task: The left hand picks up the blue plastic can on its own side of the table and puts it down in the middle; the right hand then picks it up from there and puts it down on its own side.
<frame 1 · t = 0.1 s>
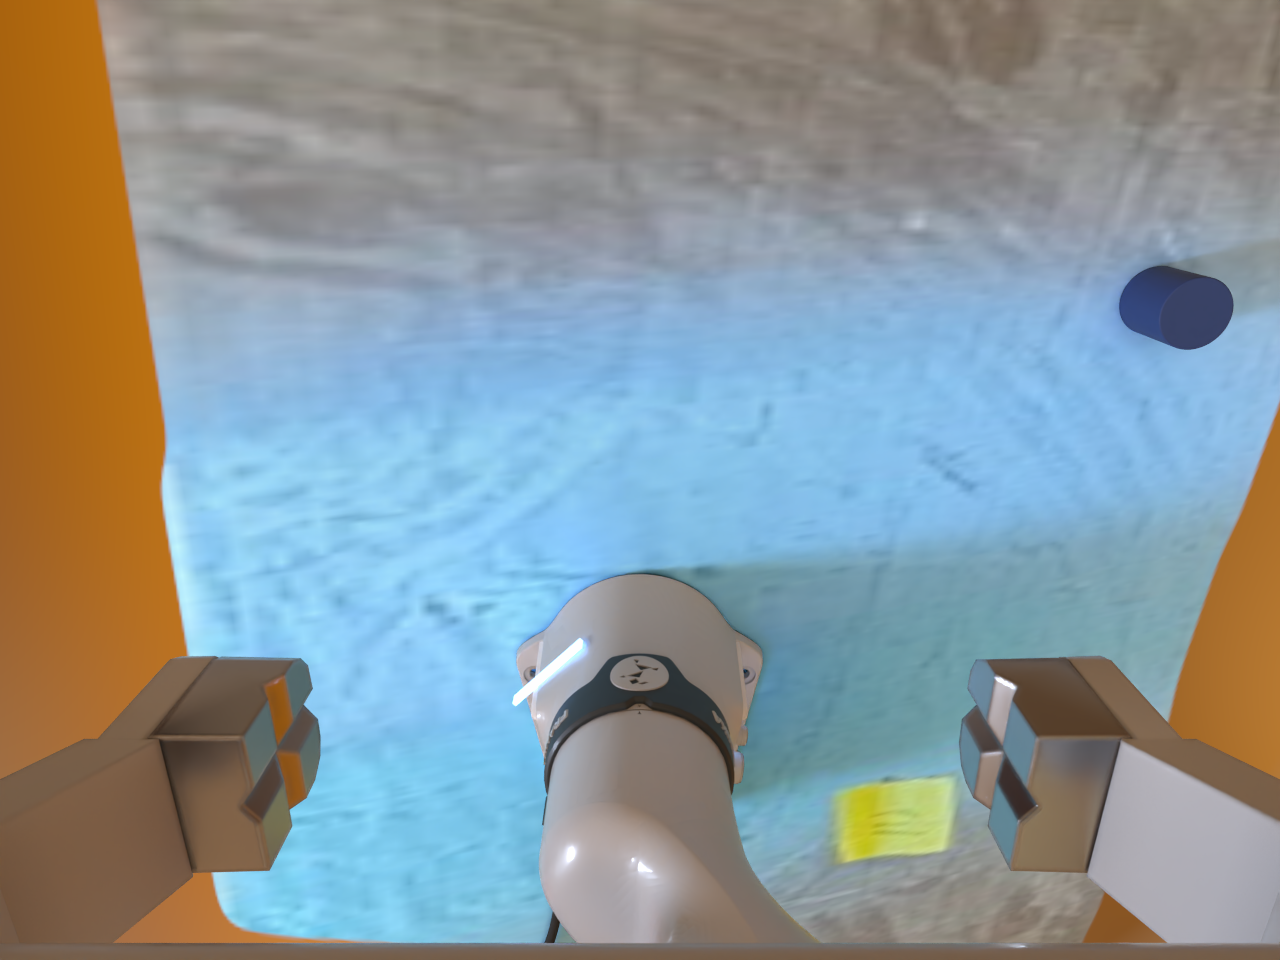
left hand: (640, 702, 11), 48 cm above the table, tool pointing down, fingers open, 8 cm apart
can: (1153, 300, 56), on the table
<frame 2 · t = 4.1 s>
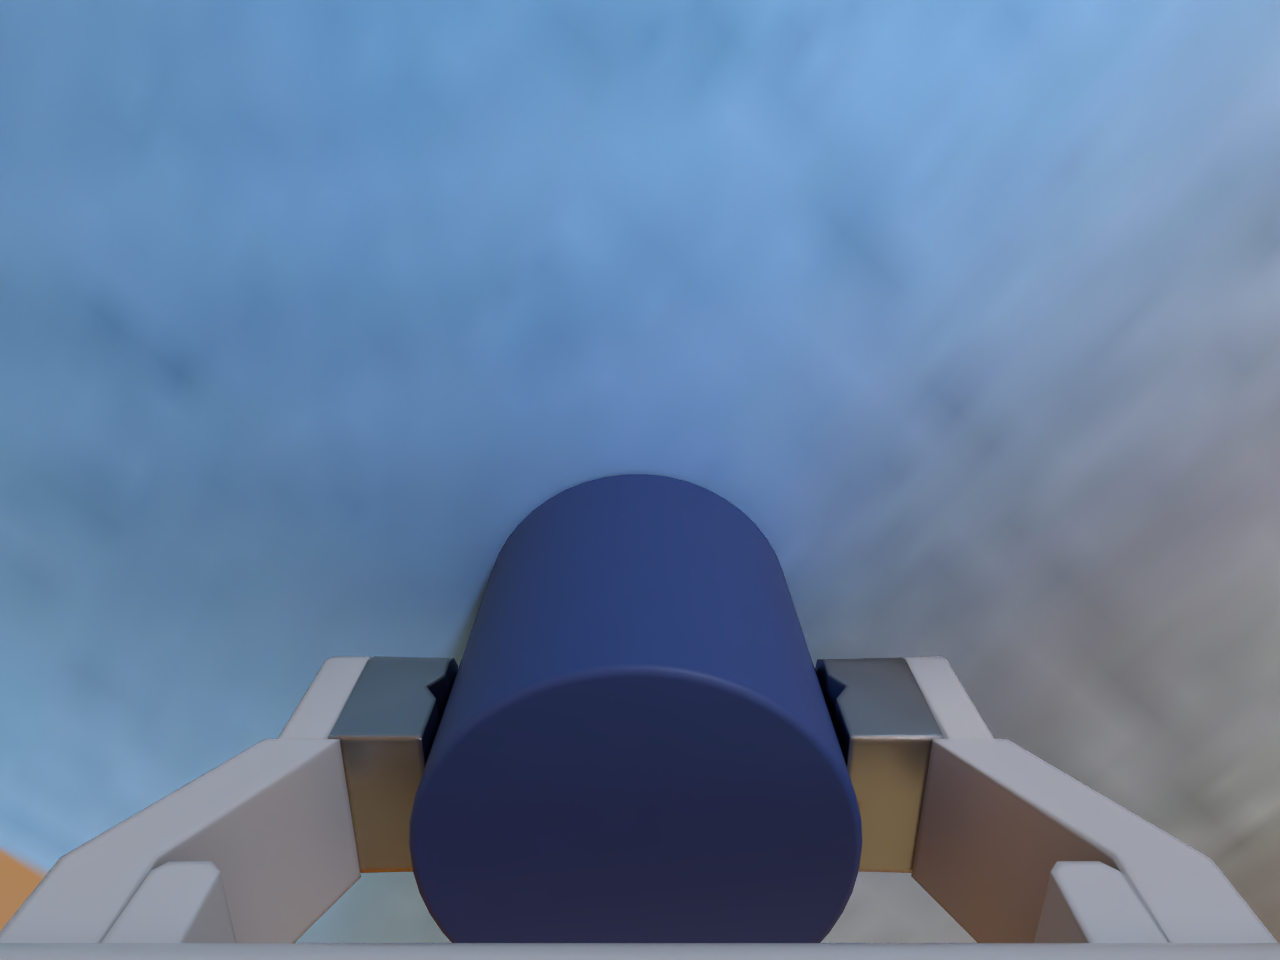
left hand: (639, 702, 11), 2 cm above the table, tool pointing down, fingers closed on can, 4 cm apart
can: (637, 611, 13), on the table, touching left hand
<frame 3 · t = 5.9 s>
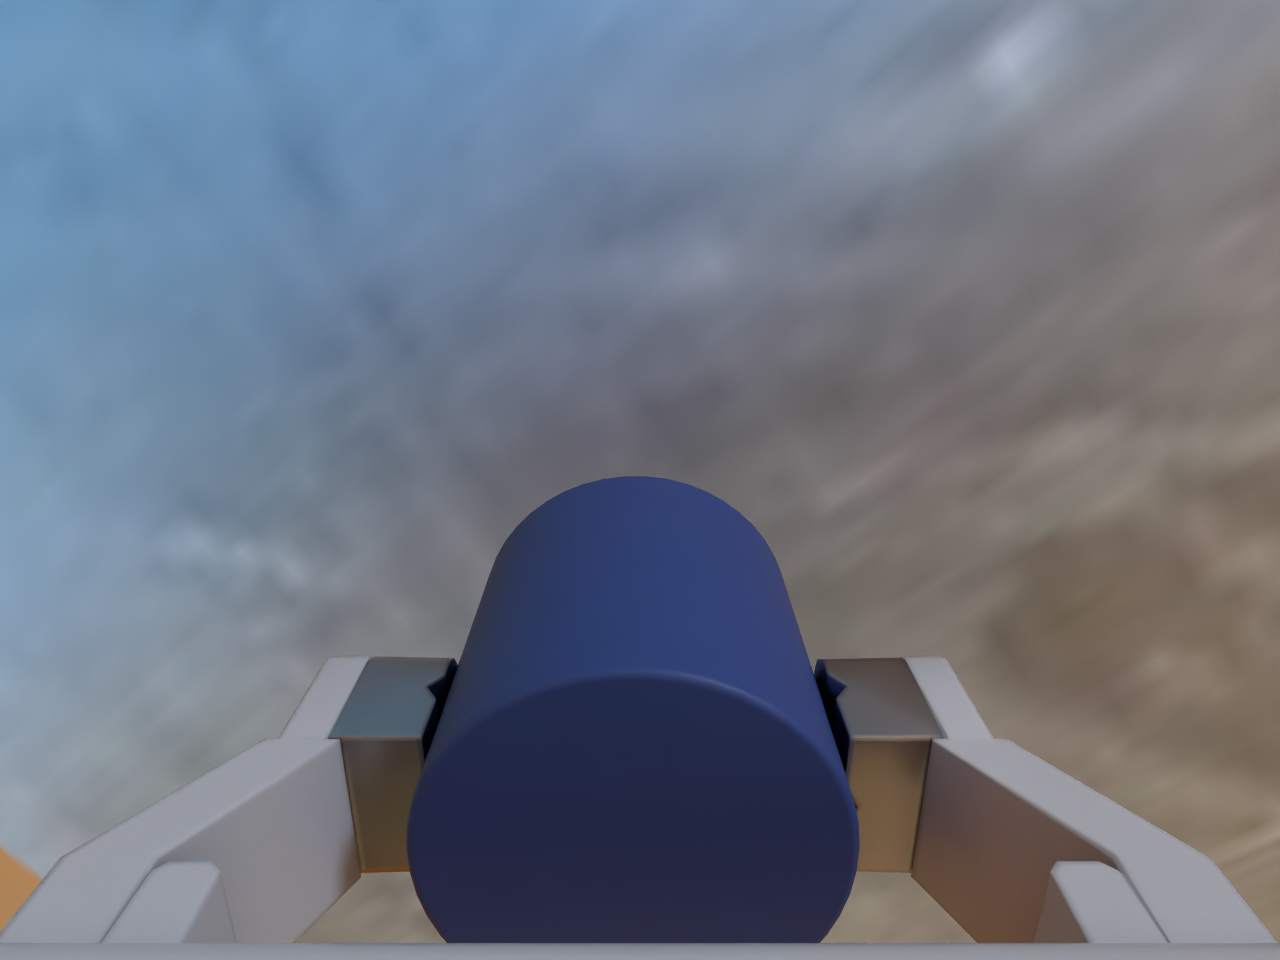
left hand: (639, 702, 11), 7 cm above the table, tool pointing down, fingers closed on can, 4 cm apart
can: (635, 612, 13), point 4 cm above the table, touching left hand
when the left hand's fingers open (3 cm above the table, at t = 7.9 s): can stays where it is, on the table.
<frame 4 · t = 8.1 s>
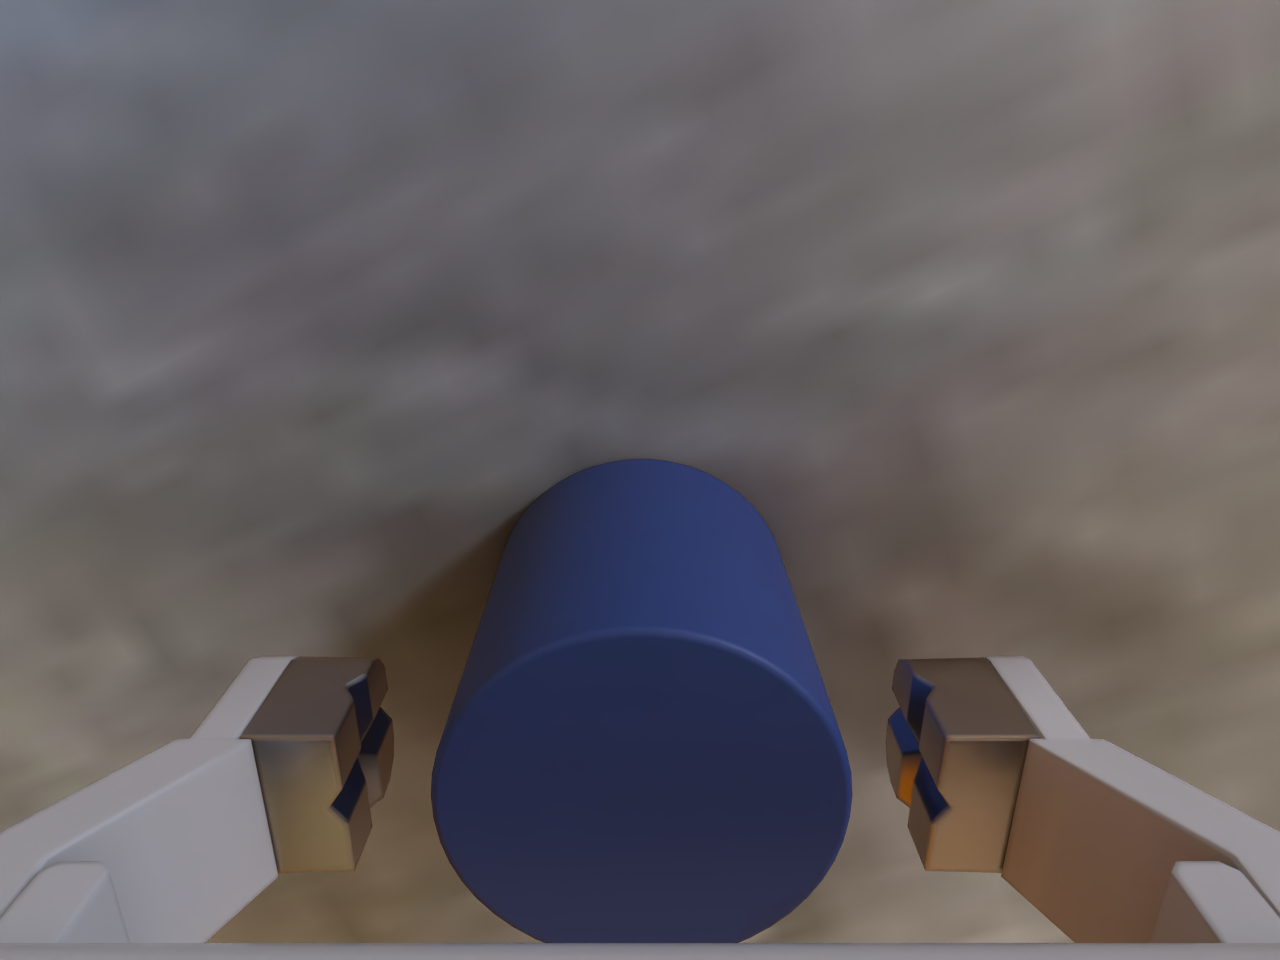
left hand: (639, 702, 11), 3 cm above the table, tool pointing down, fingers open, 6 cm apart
can: (641, 590, 13), on the table
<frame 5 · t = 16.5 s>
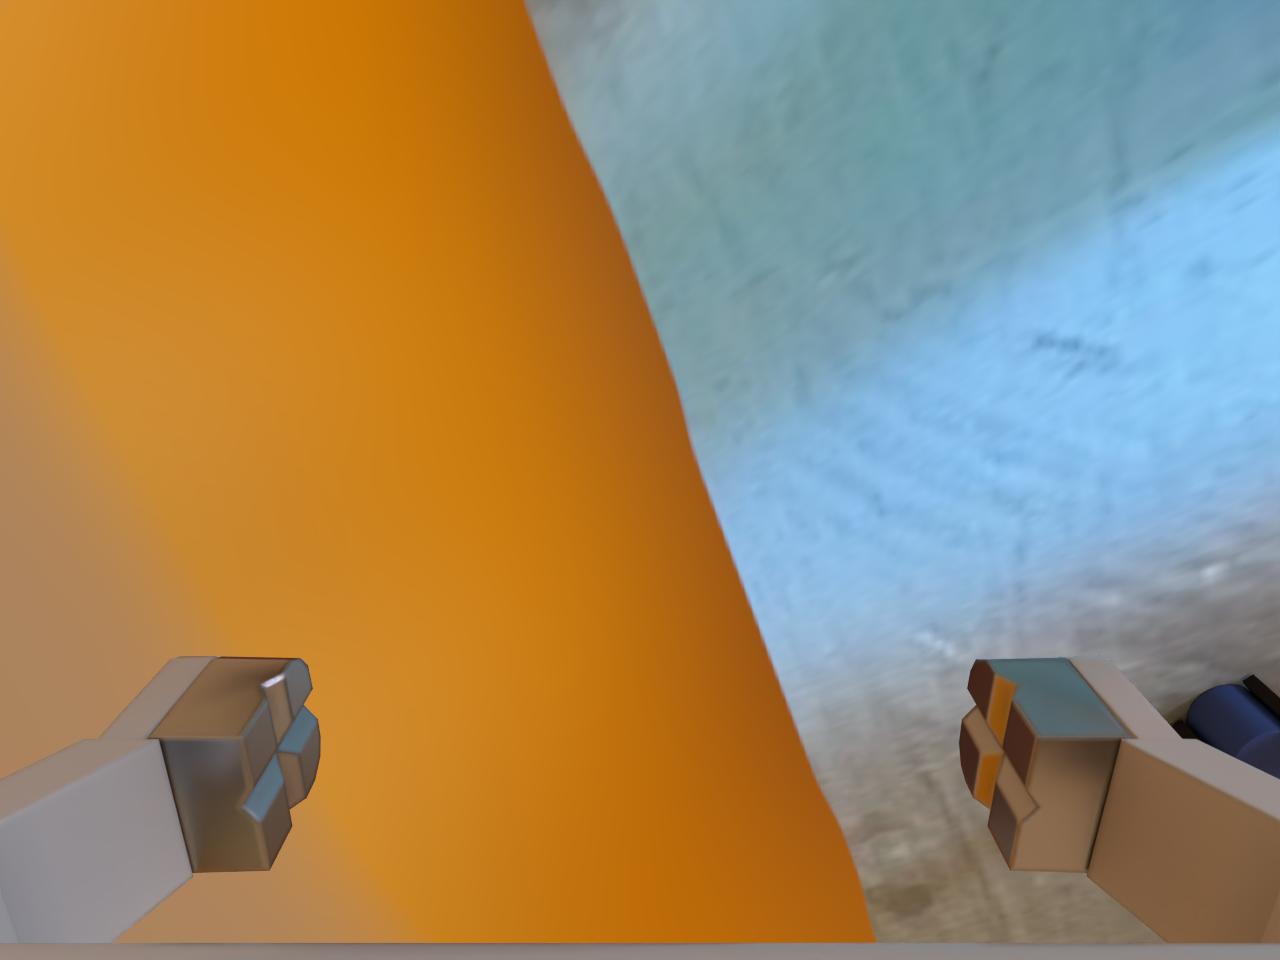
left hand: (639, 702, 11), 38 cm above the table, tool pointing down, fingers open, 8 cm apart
can: (1221, 712, 56), on the table, touching right hand
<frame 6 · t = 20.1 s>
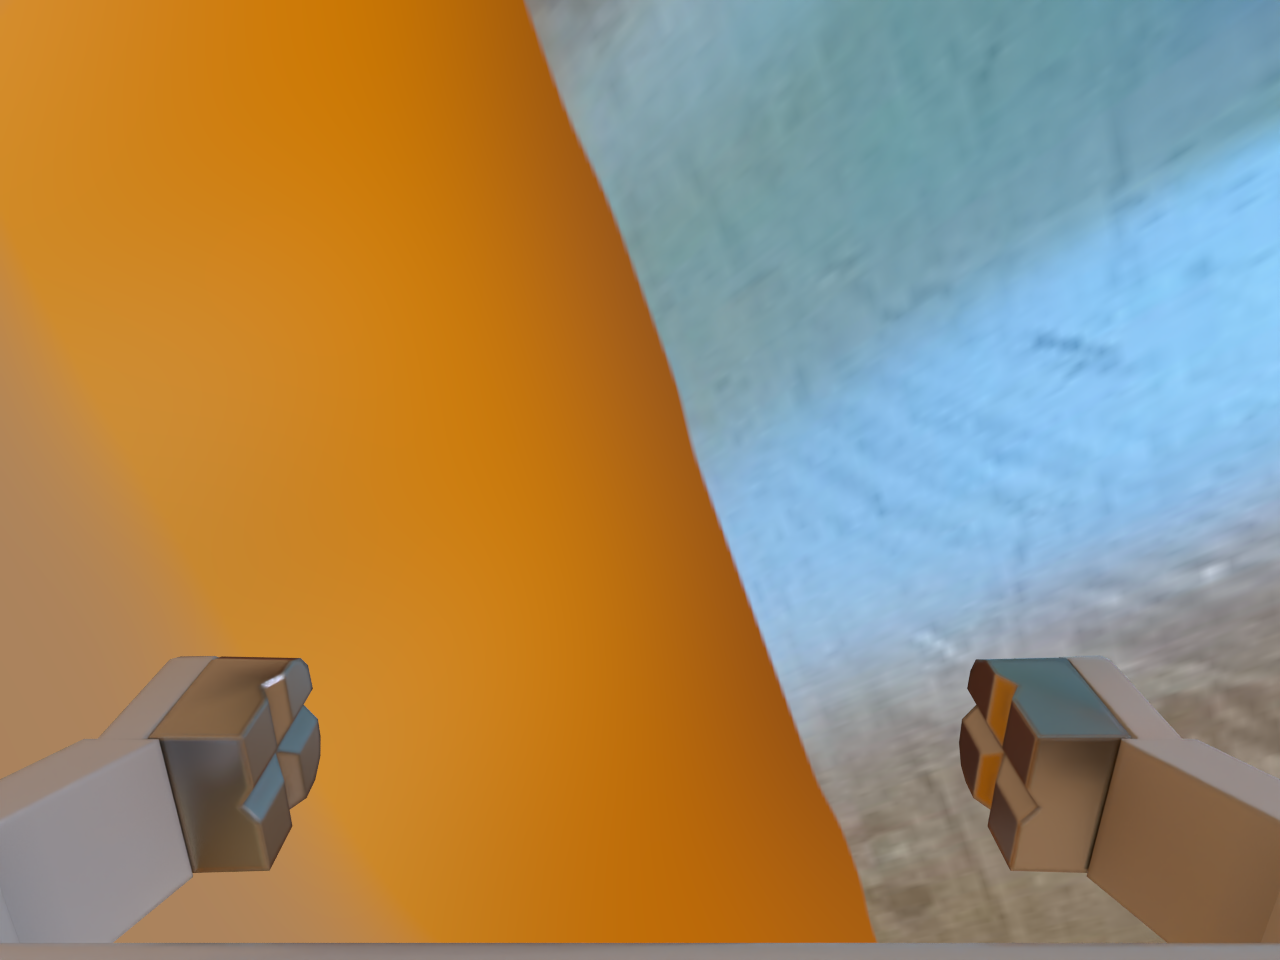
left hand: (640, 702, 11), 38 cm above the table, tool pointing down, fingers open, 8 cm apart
when the right hand's fingers open (1 cm above the table, at t = 23.8 s): can stays where it is, on the table.
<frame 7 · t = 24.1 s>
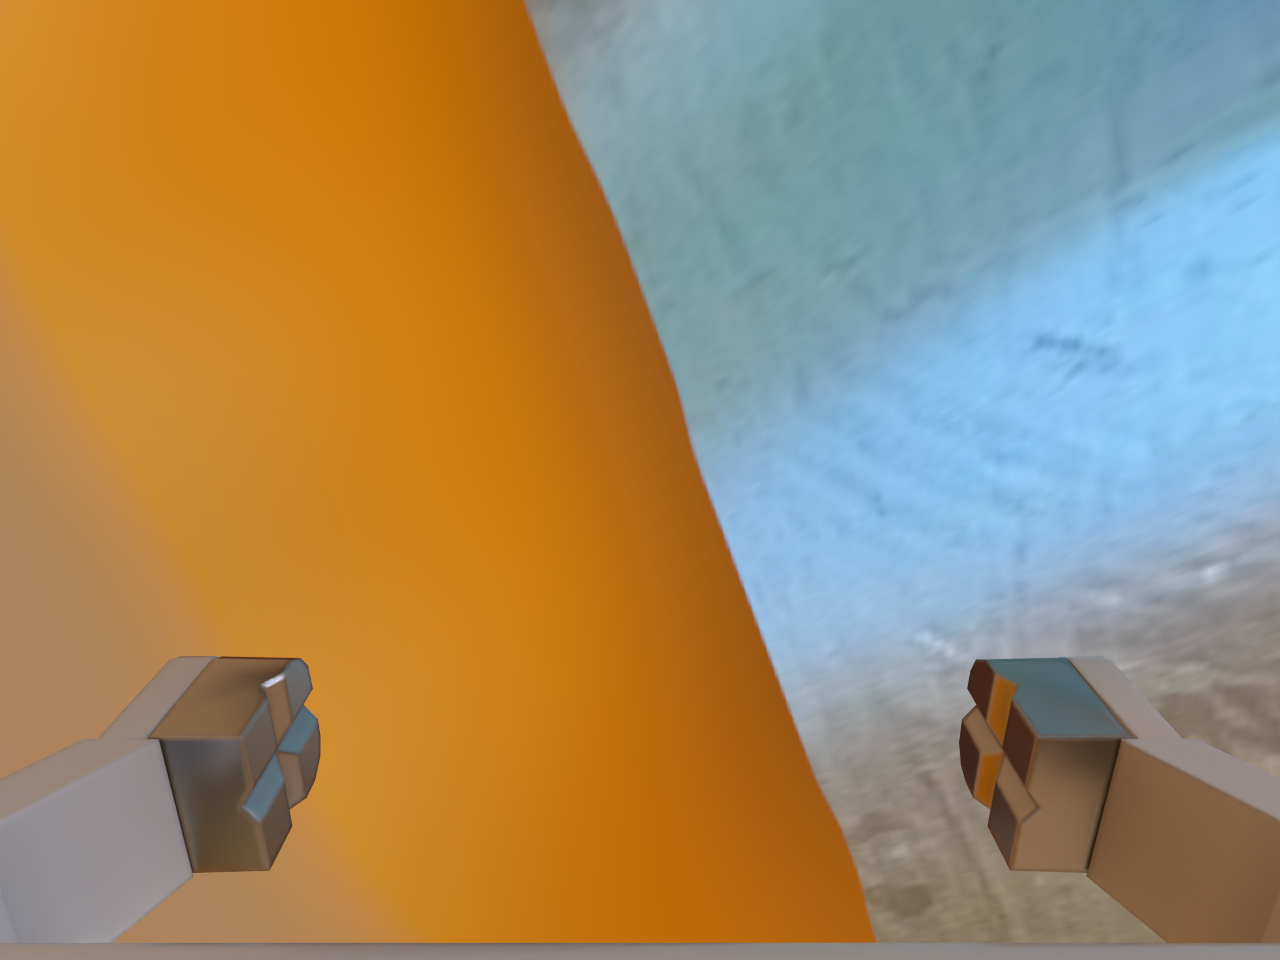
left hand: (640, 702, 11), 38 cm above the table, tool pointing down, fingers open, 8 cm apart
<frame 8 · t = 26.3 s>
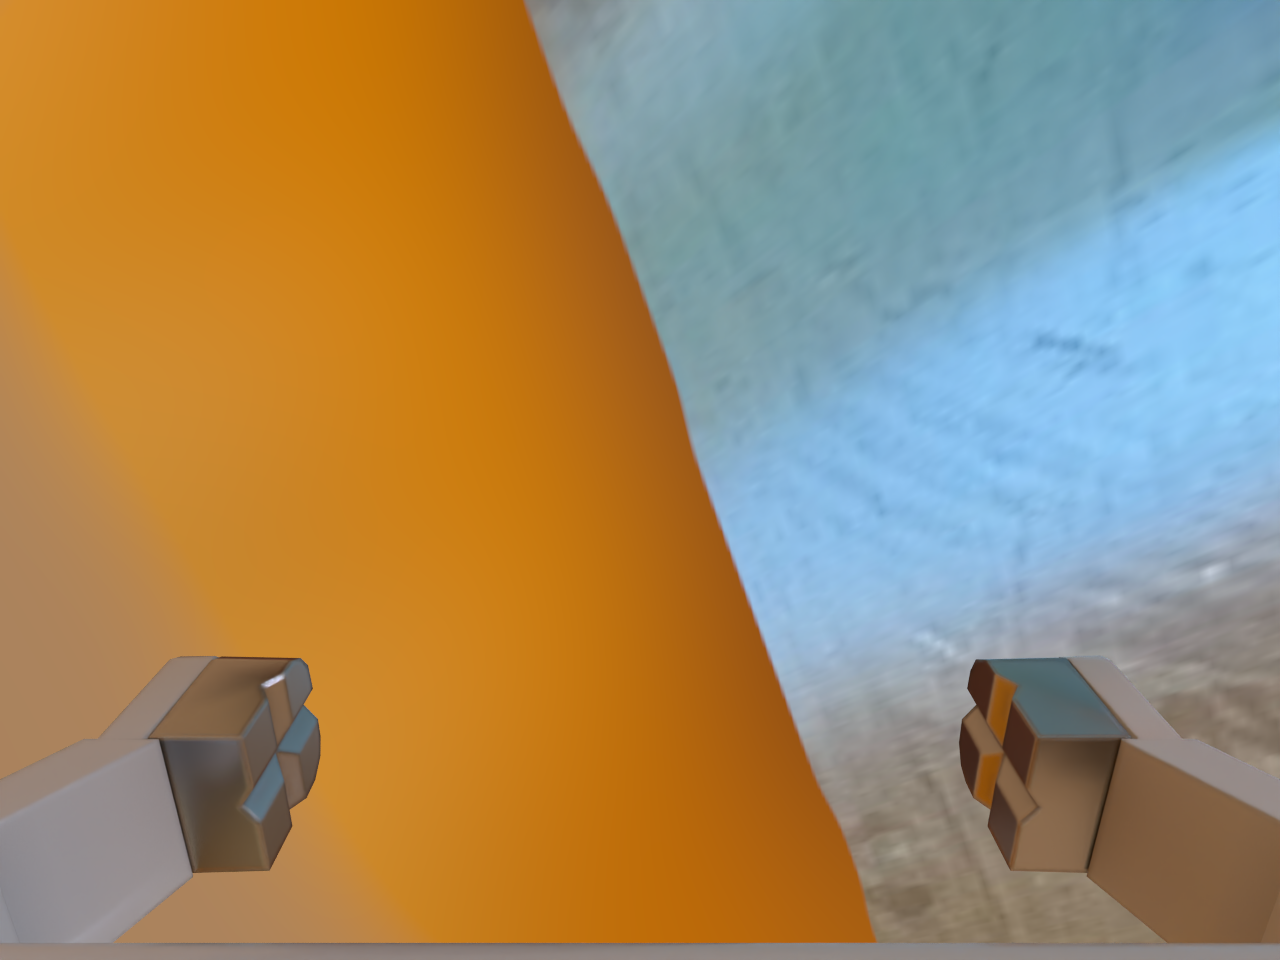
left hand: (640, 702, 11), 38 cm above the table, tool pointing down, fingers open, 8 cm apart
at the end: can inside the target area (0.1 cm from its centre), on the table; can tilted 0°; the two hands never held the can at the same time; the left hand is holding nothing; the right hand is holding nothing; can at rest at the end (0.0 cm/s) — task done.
